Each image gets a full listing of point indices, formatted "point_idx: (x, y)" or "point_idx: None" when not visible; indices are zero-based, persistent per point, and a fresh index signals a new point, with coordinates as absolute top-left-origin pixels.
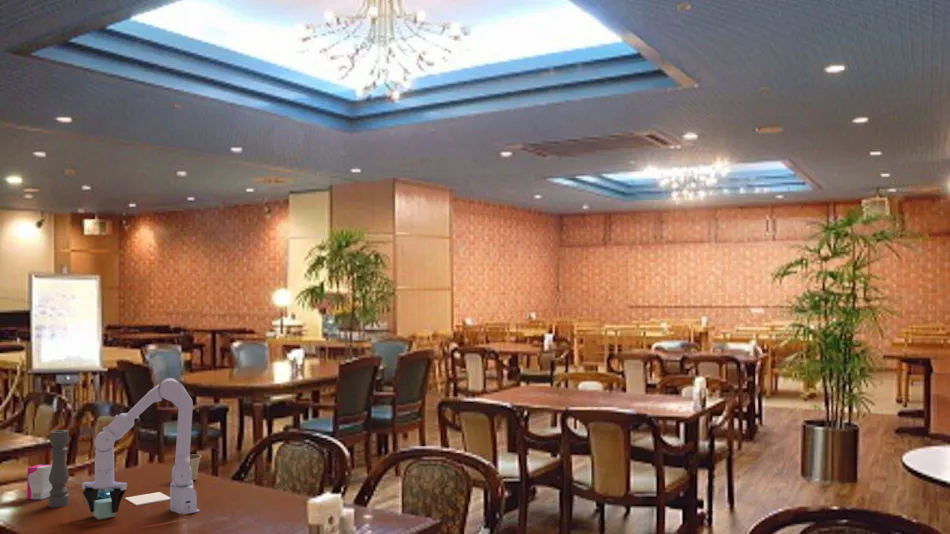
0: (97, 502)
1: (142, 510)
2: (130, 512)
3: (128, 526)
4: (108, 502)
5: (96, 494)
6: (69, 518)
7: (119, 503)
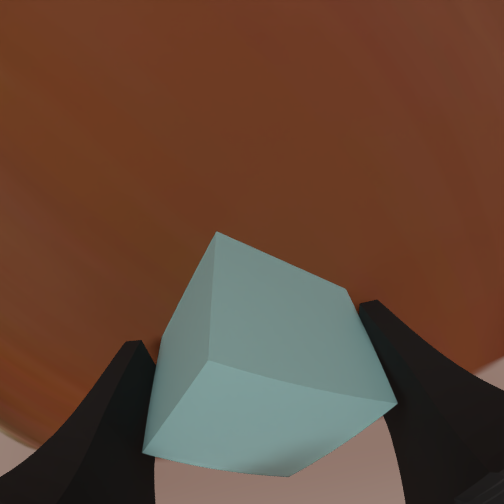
0: (243, 471)
1: (467, 68)
2: (411, 149)
3: (487, 367)
4: (345, 438)
5: (95, 477)
6: (80, 391)
7: (423, 345)
